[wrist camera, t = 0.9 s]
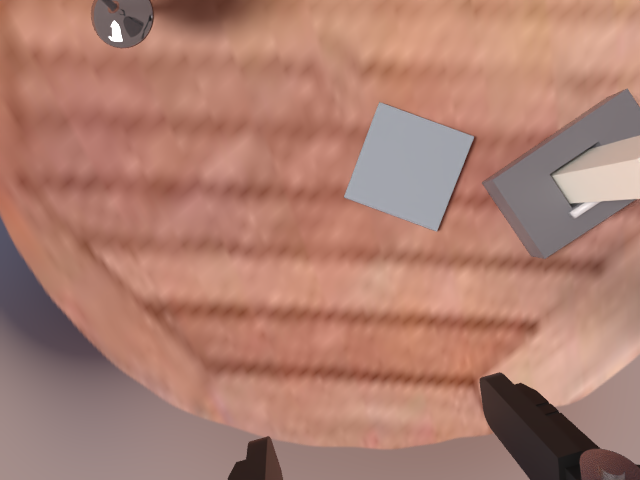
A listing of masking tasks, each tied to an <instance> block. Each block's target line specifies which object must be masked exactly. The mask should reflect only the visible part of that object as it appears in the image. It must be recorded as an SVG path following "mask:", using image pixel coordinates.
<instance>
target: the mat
mask: <svg viewBox="0 0 640 480" xmlns="http://www.w3.org/2000/svg"><path fill="white" fill-rule="evenodd" d="M473 139H474V136H471V135H468V134H465V133H463V132H460V131H457V130H454V129H452V128H449V127H446V126H444V125H441V124H438V123H435V122H433V121H430V120H427V119H424V118H422V117H419V116H416V115H413V114H411V113H408V112H405V111H402V110H400V109H397V108H394V107H391V106H389V105H386V104H383V103H380V102H379V104H378V107H377V110H376V113H375V115H374V118H373V121H372V123H371V126H370V129H369V131H368V134H367V137H366V139H365V142H364V145H363V148H362V150H361V153H360V156H359V158H358V161H357V164H356V166H355V169H354V172H353V174H352V177H351V180H350V183H349V185H348V188H347V191H346V193H345V196H344V198H347V199H349V200H352V201H355V202H358V203H360V204H363V205H366V206H368V207H371V208H374V209H377V210H379V211H382V212H385V213H387V214H390V215H393V216H396V217H398V218H401V219H404V220H406V221H409V222H412V223H415V224H417V225H420V226H423V227H425V228H428V229H431V230H434V231H437V230H438V227H439V225H440V222H441V220H442V217H443V215H444V212H445V210H446V207H447V205H448V202H449V200H450V197H451V194H452V192H453V189H454V187H455V184H456V182H457V179H458V177H459V174H460V172H461V169H462V167H463V164H464V162H465V159H466V156H467V154H468V151H469V149H470V146H471V144H472V141H473Z"/></svg>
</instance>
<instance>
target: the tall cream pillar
mask: <svg viewBox="0 0 640 480" xmlns="http://www.w3.org/2000/svg"><path fill="white" fill-rule="evenodd" d="M550 176H551V177H552V179H553V180H554V182H555V183H556V185H557V186H558V188H559V189H560V191H561V192H562V194H563V195H564V197H565V198H566V200H567V201H568V203H583V202H598V201H613V200H628V199H640V135H639V136H636V137H632V138H628V139H625V140H621V141H617V142H614V143H610V144H606V145H603V146H599V147H595V148H592V149H588V150H585V151H584V152H582V153H581V154H579V155H578V156H576V157H575V158H573V159H572V160H570V161H569V162H567V163H566V164H564V165H563V166H561V167H560V168H558V169H557V170H555V171H554V172H552V173H551V174H550Z"/></svg>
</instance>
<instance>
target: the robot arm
mask: <svg viewBox="0 0 640 480" xmlns="http://www.w3.org/2000/svg"><path fill="white" fill-rule="evenodd" d="M480 388H481V396H482V403H483V411H484V415H485V418H486V420H487V422H488V424H489V426H490V428H491V429H492V431H493V432H494V433H495V435H496V436H497V437H498V439H499V440H500V441H501V442H502V444H503V445H504V446H505V447H506V449H507V450H508V451H509V453H510V454H511V455H512V457H513V458H514V459H515V460H516V462H517V463H518V464H519V465H520V467H521V468H522V469H523V471H524V472H525V473H526V475H527V476H528V477H529V479H530V480H640V465H636V464H634V463H633V462H632V461H631V460H629V459H628V458H626V457H624V456H622V455H620V454H618V453H616V452H613V451H610V450H605V449H600V448H599V447H598V446H597V445H596V444H595V443H593V442H592V441H591V440H590V439H589V438H588V437H587V436H586V435H585V434H583V432H581V431H580V430H579V429H578V428H577V427H576V426H575V425H574V424H573V423H572V422H570V421H569V420H568V419H567V418H566V417H565V416H564V415H563V414H562V413H559V412H558V410H557V409H556V408H555V407H554V406H553V405H552V404H549V402H548V401H547V400H546V399H545V398H544V397H543V396H542V395H541V394H540V393H538V392H537V391H536V390H534V389H532V388H530V387H528V386H526V385H524V384H522V383H519V384H515V385H514V384H513V383H512V382H511V381H510V380H509V379H508V378H507V377H506V376H505V375H504V374H502V373H496V374H492V375H489V376H485V377H482V378H480ZM228 480H283V477H282V472H281V468H280V465H279V462H278V459H277V456H276V453H275V450H274V447H273V443H272V440H271V438H270V437H269V436H268V437H264V438H261V439H257V440H254V441H250V442H249V443H248V449H247V457H246V460H243V461H239V462H236V464H235V466H234V468H233V469H232V471H231V473H230V475H229V477H228Z"/></svg>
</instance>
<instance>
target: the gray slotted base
mask: <svg viewBox="0 0 640 480" xmlns="http://www.w3.org/2000/svg"><path fill="white" fill-rule="evenodd" d="M639 135H640V107H639V106H638V104H637V103H636V101H635V100H634V98H633V97H632V95H631V93H630V92H629V90H628V89H625V90H623V91H621V92H618V93H616V94H614V95H612V96H609V97H607V98H606V99H604V100H603V101H601V102H600V103H598V104H597V105H595V106H594V107H592V108H591V109H589V110H588V111H586V112H585V113H584V114H582V115H581V116H579V117H578V118H576V119H575V120H573V121H572V122H570V123H569V124H567V125H566V126H564V127H563V128H561V129H560V130H558V131H557V132H556V133H554V134H553V135H551V136H550V137H548V138H547V139H545V140H544V141H542V142H541V143H539V144H538V145H536V146H535V147H533V148H532V149H530V150H529V151H528V152H526V153H525V154H523V155H522V156H520V157H519V158H517V159H516V160H514V161H513V162H511V163H510V164H508V165H507V166H505V167H504V168H502V169H501V170H500V171H498V172H497V173H495V174H494V175H492V176H491V177H489V178H488V179H486V180H485V181H483V182H482V184H483V185H484V187H485V188H486V190H487V191H488V193H489V194H490V196H491V197H492V199H493V200H494V202H495V203H496V205H497V206H498V208H499V209H500V211H501V212H502V214H503V215H504V217H505V218H506V220H507V221H508V222H509V224H510V225H511V227H512V228H513V230H514V231H515V233H516V234H517V236H518V237H519V239H520V240H521V242H522V243H523V245H524V246H525V248H526V249H527V251H528V252H529V254H530V255H531V256H533V257H538V258H544V259H545V258H547V257H549V256H550V255H552V254H553V253H555V252H556V251H558V250H559V249H561V248H562V247H564V246H565V245H567V244H568V243H570V242H572V241H573V240H575V239H576V238H578V237H579V236H581V235H582V234H584V233H585V232H587V231H588V230H590V229H591V228H593V227H594V226H596V225H598V224H599V223H601V222H602V221H604V220H605V219H607V218H608V217H610V216H611V215H613V214H614V213H616V212H617V211H619V210H621V209H622V208H624V207H625V206H627V205H628V204H630V203H631V202H633V201H634V200H636V199H628V200H613V201H598V202H583V203H568V201H567V200H566V198H565V197H564V195H563V194H562V192H561V191H560V189H559V188H558V186H557V185H556V183H555V182H554V180H553V179H552V177H551V176H550V174H551V173H552V172H554V171H555V170H557V169H558V168H560V167H561V166H563V165H564V164H566V163H567V162H569V161H570V160H572V159H573V158H575V157H576V156H578V155H579V154H581V153H582V152H584V151H585V150H588V149H592V148H595V147H599V146H603V145H606V144H610V143H614V142H617V141H621V140H625V139H628V138H632V137H636V136H639Z"/></svg>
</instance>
